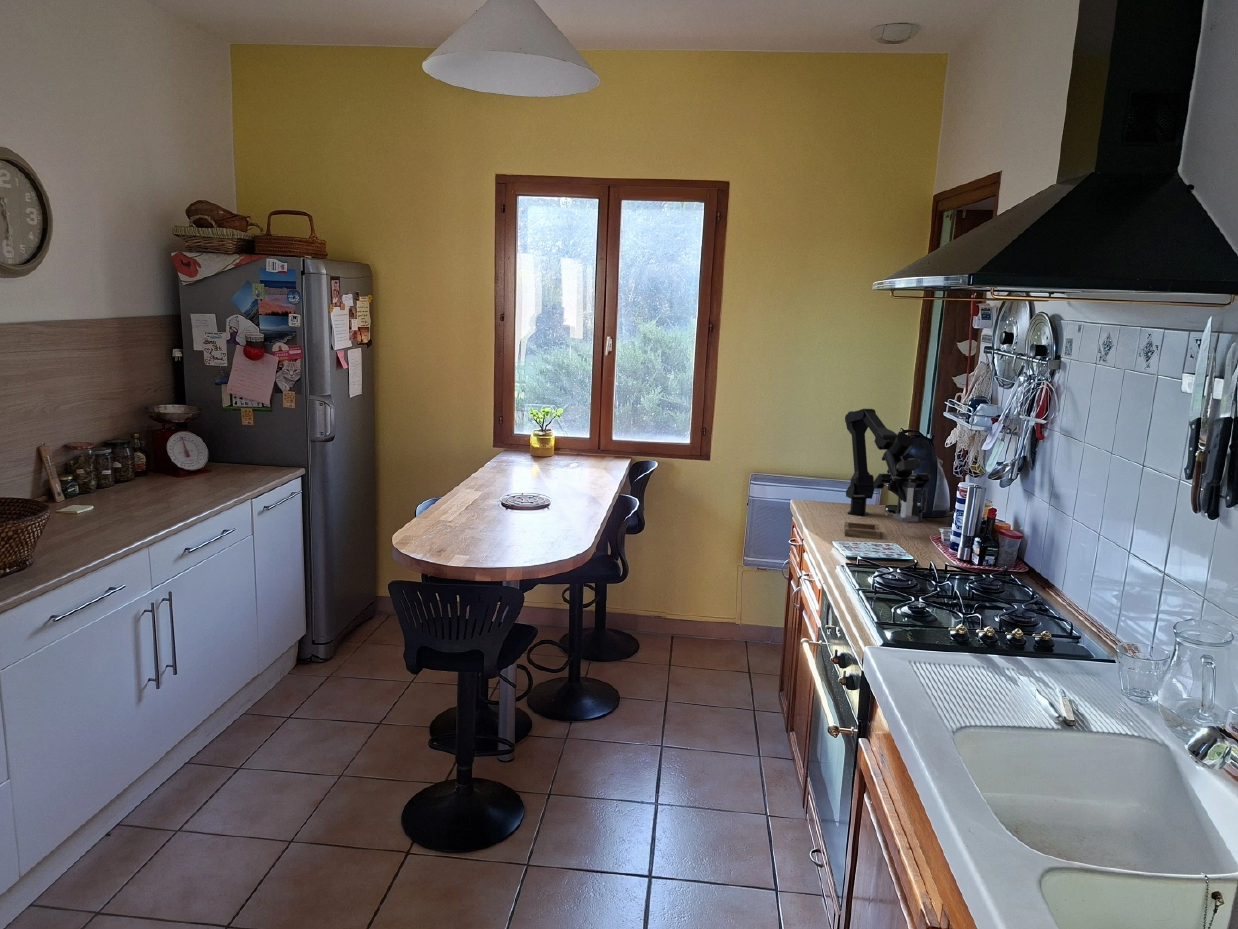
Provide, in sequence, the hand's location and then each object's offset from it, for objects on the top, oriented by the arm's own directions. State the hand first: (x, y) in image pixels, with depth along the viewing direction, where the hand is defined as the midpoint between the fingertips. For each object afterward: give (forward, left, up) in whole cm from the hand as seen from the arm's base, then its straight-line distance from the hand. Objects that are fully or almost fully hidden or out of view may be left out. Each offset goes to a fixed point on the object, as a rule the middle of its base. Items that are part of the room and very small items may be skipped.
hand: (909, 501), depth 294 cm
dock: (+5, -14, -12) cm, 19 cm away
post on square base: (-1, -1, -7) cm, 7 cm away
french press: (-29, -5, -12) cm, 32 cm away
